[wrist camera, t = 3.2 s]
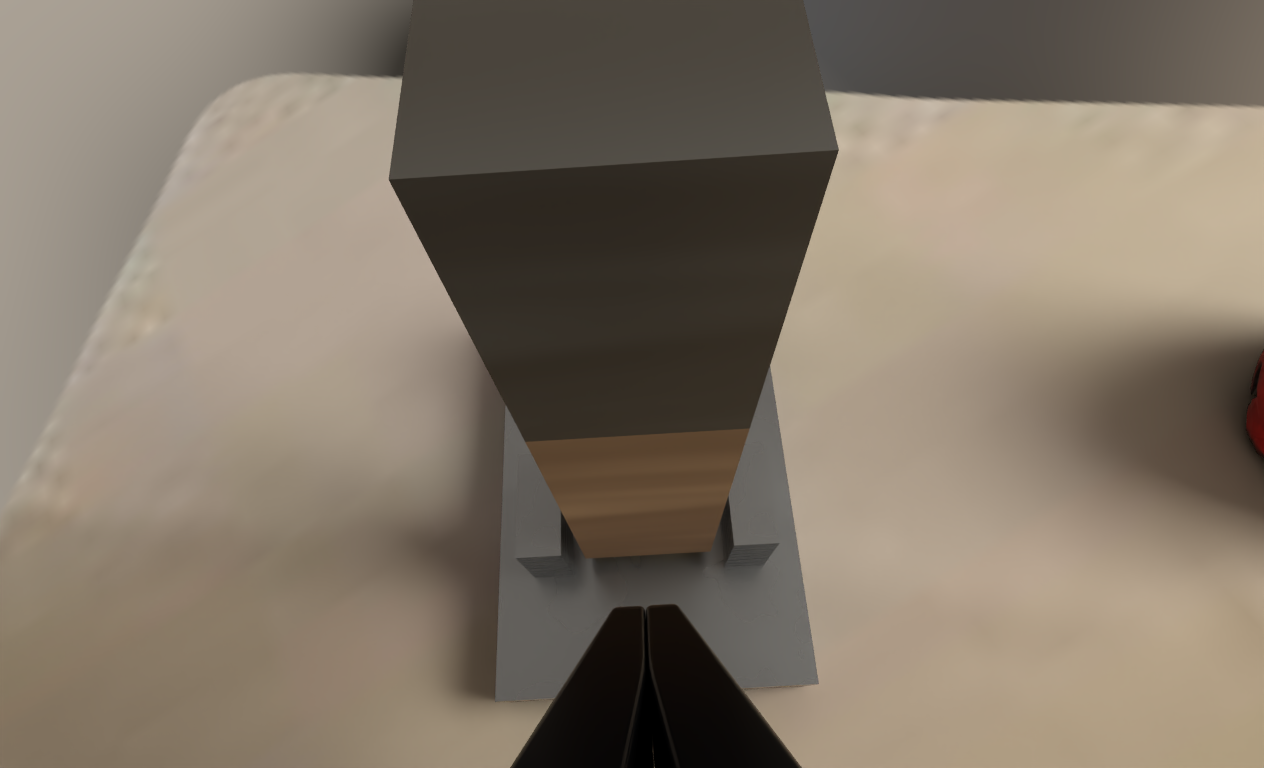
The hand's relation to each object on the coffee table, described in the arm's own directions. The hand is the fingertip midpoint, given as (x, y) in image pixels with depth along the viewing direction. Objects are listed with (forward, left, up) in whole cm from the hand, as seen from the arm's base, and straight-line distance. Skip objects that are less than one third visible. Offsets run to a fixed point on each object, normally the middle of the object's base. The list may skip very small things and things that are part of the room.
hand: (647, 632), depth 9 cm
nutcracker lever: (+3, +1, -7) cm, 8 cm away
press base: (+5, +1, -10) cm, 11 cm away
